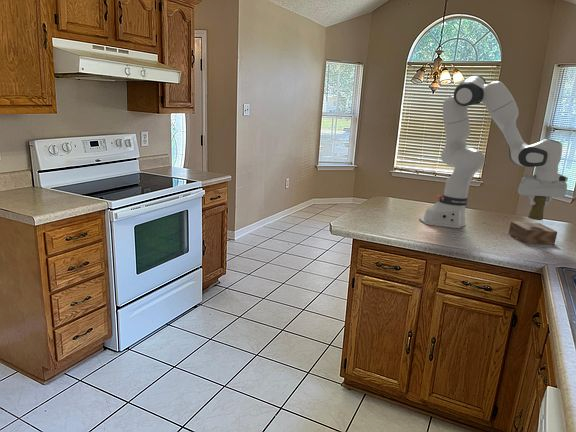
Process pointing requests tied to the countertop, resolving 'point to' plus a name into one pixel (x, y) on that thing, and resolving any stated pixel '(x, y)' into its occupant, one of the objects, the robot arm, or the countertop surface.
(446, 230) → the countertop surface
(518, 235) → the walnut block
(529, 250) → the countertop surface
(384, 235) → the countertop surface
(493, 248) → the countertop surface
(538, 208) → the cork
